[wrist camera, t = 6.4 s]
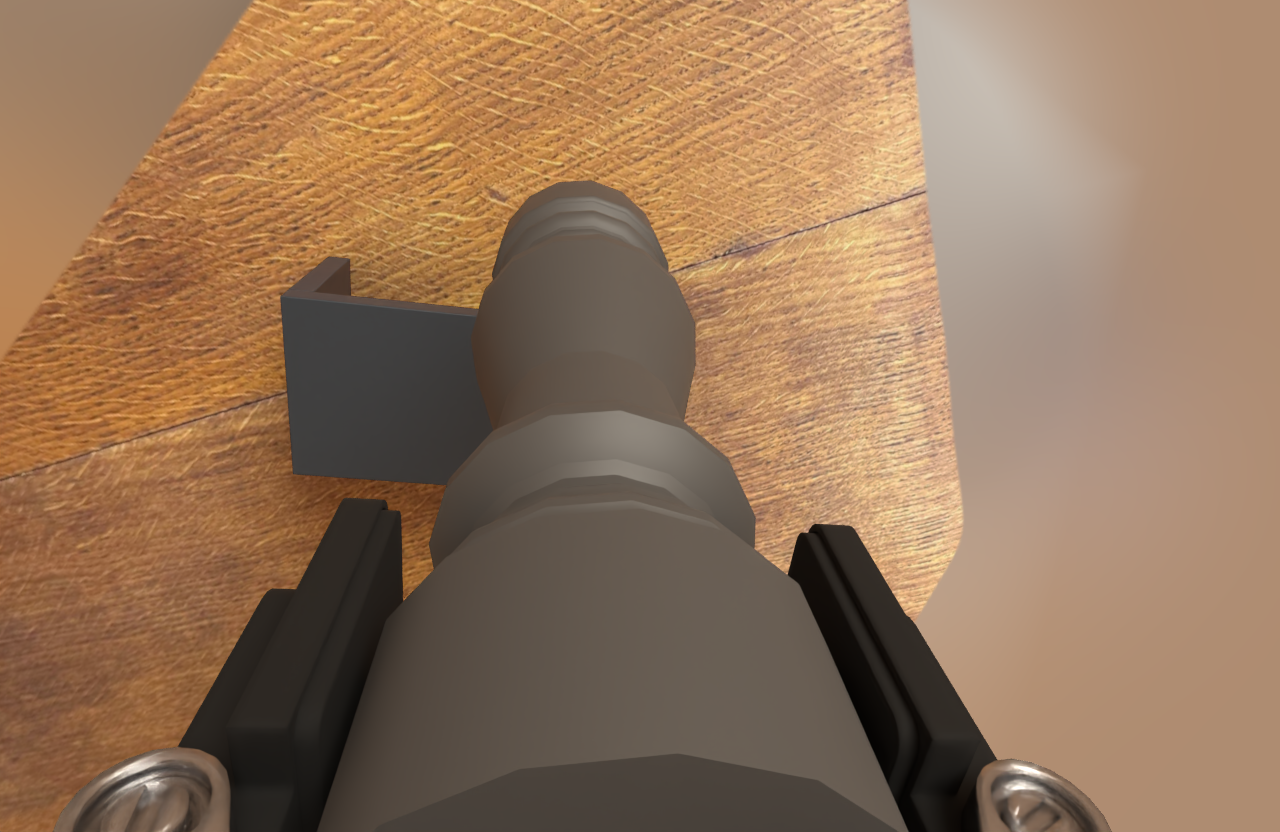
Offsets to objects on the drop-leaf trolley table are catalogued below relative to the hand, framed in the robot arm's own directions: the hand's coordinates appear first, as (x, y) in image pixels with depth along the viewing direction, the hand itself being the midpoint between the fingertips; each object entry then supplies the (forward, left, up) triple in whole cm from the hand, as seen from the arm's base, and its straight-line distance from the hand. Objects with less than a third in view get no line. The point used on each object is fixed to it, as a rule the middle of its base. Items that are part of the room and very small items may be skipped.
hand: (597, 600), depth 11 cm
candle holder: (0, 0, -20) cm, 20 cm away
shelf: (-4, -10, -35) cm, 37 cm away
